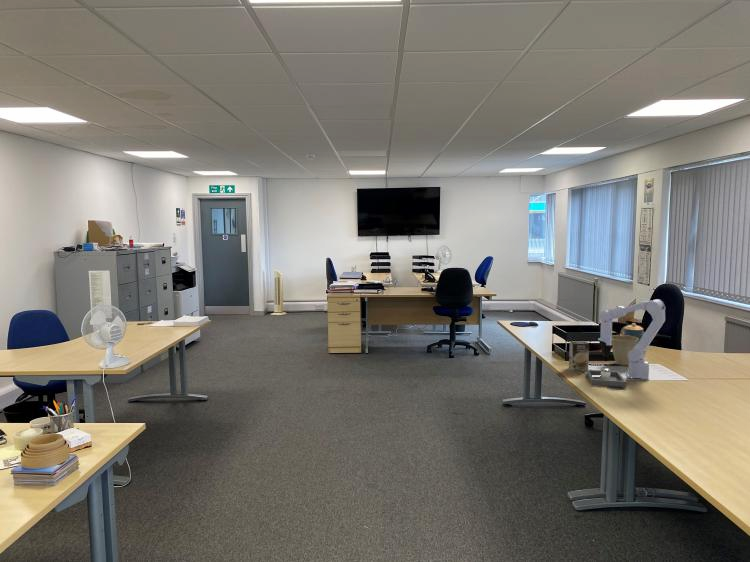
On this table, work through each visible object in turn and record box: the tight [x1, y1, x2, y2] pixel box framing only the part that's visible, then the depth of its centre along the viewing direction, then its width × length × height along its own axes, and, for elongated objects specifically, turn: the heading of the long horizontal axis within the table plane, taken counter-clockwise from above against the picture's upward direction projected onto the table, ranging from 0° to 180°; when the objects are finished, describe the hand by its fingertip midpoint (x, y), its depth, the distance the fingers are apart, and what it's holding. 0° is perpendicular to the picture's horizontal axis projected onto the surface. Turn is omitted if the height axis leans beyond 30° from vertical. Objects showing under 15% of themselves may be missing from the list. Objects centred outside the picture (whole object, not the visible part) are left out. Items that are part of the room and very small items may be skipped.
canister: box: [622, 322, 646, 344], centre depth 317 cm, size 13×13×18 cm
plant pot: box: [610, 334, 638, 366], centre depth 283 cm, size 15×15×16 cm
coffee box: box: [568, 340, 590, 372], centre depth 273 cm, size 9×6×16 cm
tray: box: [586, 369, 627, 388], centre depth 253 cm, size 16×18×3 cm
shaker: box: [600, 367, 611, 380], centre depth 252 cm, size 5×5×6 cm
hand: (605, 354), depth 269 cm, fingers open, 7 cm apart
